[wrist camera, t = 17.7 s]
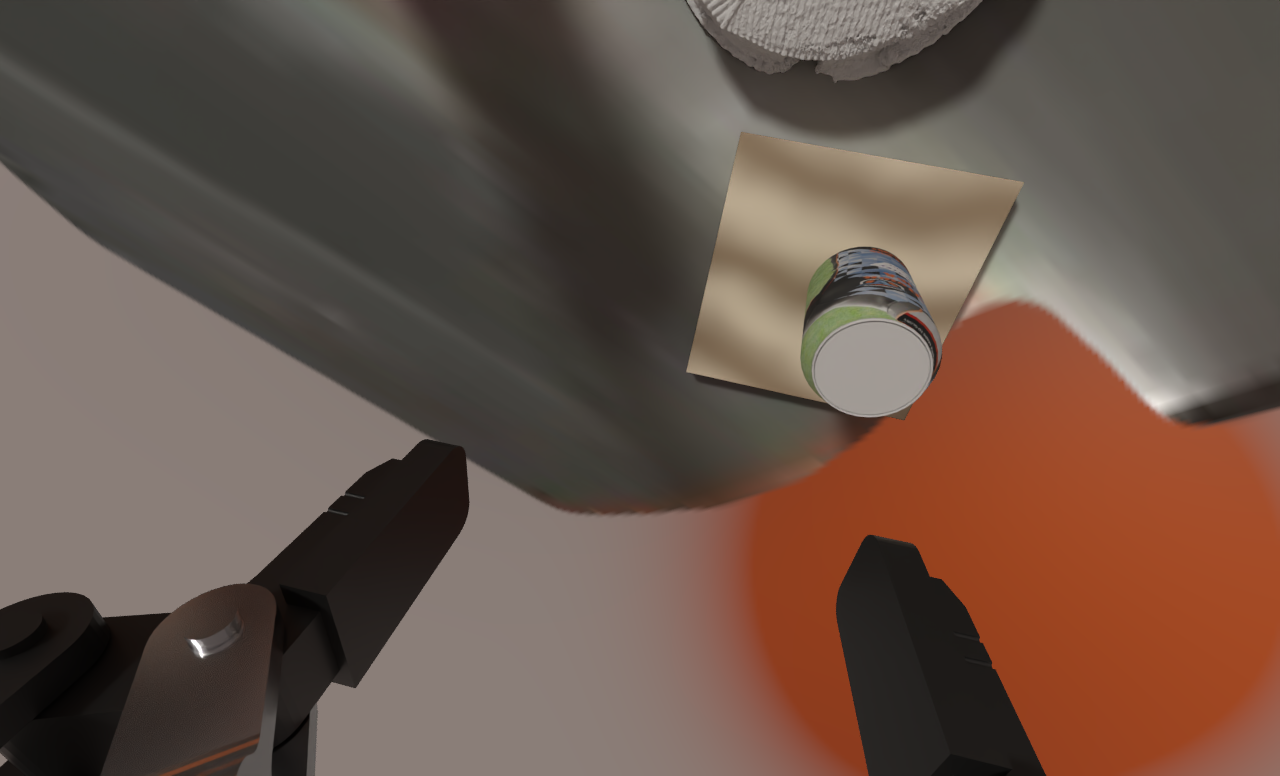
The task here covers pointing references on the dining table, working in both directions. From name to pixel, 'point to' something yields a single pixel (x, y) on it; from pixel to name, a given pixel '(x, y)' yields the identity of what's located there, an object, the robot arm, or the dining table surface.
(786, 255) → the coaster board
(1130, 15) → the dining table surface
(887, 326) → the beverage can
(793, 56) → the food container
